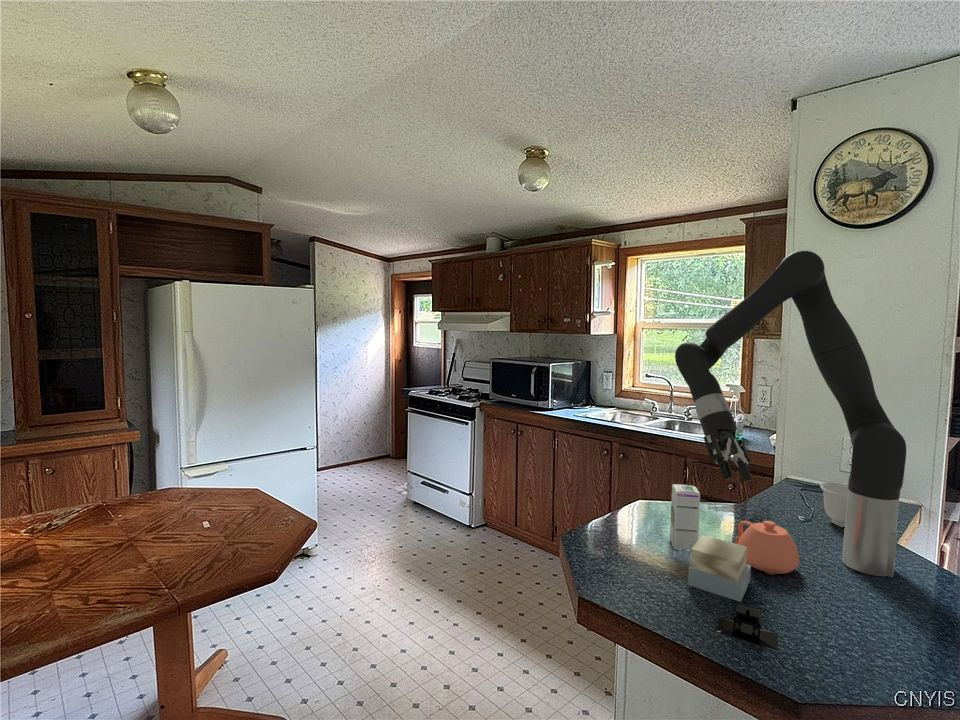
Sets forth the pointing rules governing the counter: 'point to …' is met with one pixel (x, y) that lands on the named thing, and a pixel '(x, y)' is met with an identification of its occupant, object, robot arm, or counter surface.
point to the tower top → (719, 557)
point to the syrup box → (684, 516)
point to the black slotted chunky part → (748, 627)
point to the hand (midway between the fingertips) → (738, 480)
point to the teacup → (835, 501)
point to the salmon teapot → (768, 547)
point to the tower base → (720, 583)
